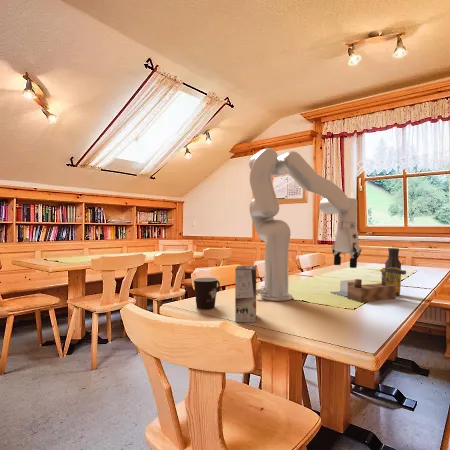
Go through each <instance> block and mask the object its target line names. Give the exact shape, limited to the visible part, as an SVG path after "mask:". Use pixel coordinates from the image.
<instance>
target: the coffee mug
mask: <svg viewBox="0 0 450 450" xmlns="http://www.w3.org/2000/svg"><path fill="white" fill-rule="evenodd" d="M193 285H194V286H193V287H194V294H195V303H196V309H198V310H204V311H207V310H213V309H215V307H216V299H217V298H216V297H217V293H218V292H219V289H220V288H221V283H220V281H219V279H218V278H216V277H197V278H194V279H193Z"/></svg>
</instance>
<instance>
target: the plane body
mask: <svg viewBox="0 0 450 450" xmlns="http://www.w3.org/2000/svg"><path fill="white" fill-rule="evenodd" d="M354 280H355V286H348V297H347V299H348V300H351V299H352V301H354V300H355V302H358V301H359V302H358V303H368V302H376V301H385V300H393V299H396V297H397V296H396V286H393V285H388V284H386V272H381V283H370V284H369V283H368V284H362V283H363V282H362V279H359V278H356V279H354Z"/></svg>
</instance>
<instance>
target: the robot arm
mask: <svg viewBox="0 0 450 450" xmlns="http://www.w3.org/2000/svg"><path fill="white" fill-rule="evenodd" d="M248 165H249V169H250V173H249V184H250V190H251V192H252V196H253V199H252V200H251V201H250V203H249V209H248V210H249V214H250V218H251V220H252V224H253V226H254V229H255V232H256V234H257V236H258V238H259V239H260V240H261V241H263V242H265V248H264V285H262V287H261V288H260V289H259V288H256V295H260V298H261V299H263V300H266V301H272V302H283V301H285V302H286V301H291V300H292V299H293V294H291V293H289V247H290V241H291V228H290V226H289V224H288V223H287V222H286V221H284V220H282V219H275V218H274V217H275V216H277V215H278V214H279V211H280V204H279V200H278V199H277V195H276V192H275V188H274V187H273V181H272V176H285V175H289V176H290V177H291V178H292V179H293V180H294V181H295V182H296V183H297V184H298V185H299V187H300V188H302V189H303V191H307V192H310V193H313V194H317V195H318V196H321V197H322V199H321V201H319V205H318V206H319V209H320V211H321V212H322V213H324V214H326V215H334V214H335V215H336V214H337V229H336V234H335V240H334V243H333V244H332V245H331V252H332V255H333V265H334V266H341V264H342V263H341V262H342V261H341V259H342V257H341V254H342V253H343V254H349V256H350V258H349V268H350V269H357V267H358V259H359V256H361V252H362V250H363V248H362V247H361V246H360V244H359V239H360V238H359V232H358V230H357V226H358V225H357V217H358V199H356V198H354V197H353V198H352V197H348V196H347V195H346V193H345V192H344V191H343V190H342V188H340V187H339V186H338V185H337V184H335V183H334V182H332V181H331V180H328V179H327V178H325V177H323V176H321V175H320V174H319V173H318V172H317V171H316V170H315V169H314V168H313V167H312V166H311V165H310V163H308V162H307V161H306V160H305V159H304V157H303V156H301V154H300V153H299V152H298V151H295V150H293V151H292V150H291V151H287V152H285V153H283V154H280V155H278V153H277V151H276V150H275V149H273V148H269V147H266V148H264V149H261V150H259V151H258V152H257V153H255V154H253V156H251V157H250V159H249V162H248Z"/></svg>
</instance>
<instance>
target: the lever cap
mask: <svg viewBox="0 0 450 450" xmlns="http://www.w3.org/2000/svg"><path fill="white" fill-rule="evenodd" d="M348 286H355V279H346V280H345V279H344V280H340V283H339V291H340V292H341V293H344V294H348Z"/></svg>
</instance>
